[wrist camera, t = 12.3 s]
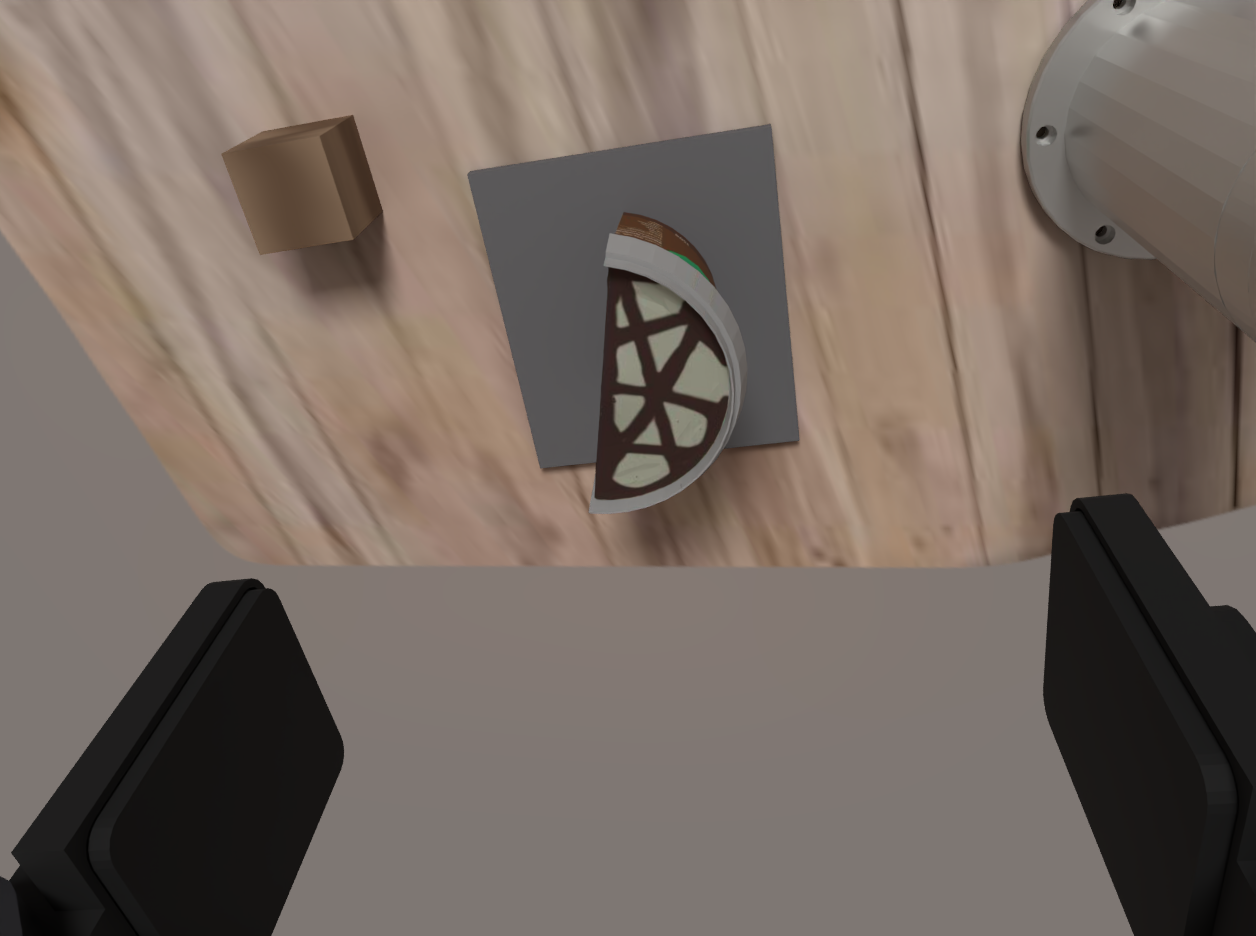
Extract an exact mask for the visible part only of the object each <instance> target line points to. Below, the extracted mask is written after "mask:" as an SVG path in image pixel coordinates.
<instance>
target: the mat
mask: <svg viewBox="0 0 1256 936" xmlns="http://www.w3.org/2000/svg"><path fill="white" fill-rule="evenodd" d="M467 175H468V179H469V183H470V187H471V191H472V195H473V199H474V203H475V207H476V211H477V215H478V219H479V223H480V227H481V231H482V235H483V239H484V243H485V247H486V251H487V255H488V259H489V263H490V267H491V271H492V276H493V280H494V284H495V288H496V292H497V296H498V300H499V304H500V308H501V312H502V316H503V320H504V324H505V328H506V332H507V336H508V340H509V344H510V348H511V352H512V356H513V360H514V364H515V368H516V372H517V376H518V380H519V384H520V388H521V392H522V396H523V400H524V404H525V408H526V412H527V416H528V420H529V424H530V428H531V432H532V436H533V440H534V444H535V448H536V452H537V456H538V461H539V465H540V468H548V467H557V466H566V465H576V464H585V463H594V462H596V459H597V443H598V430H599V416H600V397H601V382H602V368H603V350H604V337H605V321H606V307H607V303H606V302H607V289H608V288H607V277H608V267H606V266H604V261H605V257H606V248H607V243H608V239H609V234H610V233H611V234H615V232H616V229H617V227H618V224H619V222H620V219H621V217H622V214H623V212H627V213H633V214H639V215H643V216H646V217H649V218H652V219H655V220H658V221H660V222H662V223H664V224H666V225H668V226H670V227H672V228H673V229H674V230H676V231H677V232H679V233H680V234H681V235H683V236H684V237H685V238H686V239H687V240H688V241H689V242H690V243H691V244H692V245H694V246H695V247H696V249H697V250H698V251H699V253H700V254H701V255H702V257H703V258H704V260H705V261H706V263H707V265H708V267H709V269H710V271H711V273H712V276H713V279H714V282H715V286H716V290H717V291H718V292H719V294H720V295H721V297H722V298H723V299H724V301H725V302H726V304H727V305H728V306H729V308H730V310H731V312H732V314H733V316H734V318H735V320H736V322H737V324H738V326H739V329H740V333H741V336H742V339H743V343H744V346H745V352H746V361H747V386H746V393H745V397H744V402H743V406H742V410H741V412H740V415H739V417H738V419H737V422H736V424H735V426H734V429H733V431H732V433H731V435H730V438H729V440H728V442H727V444H726V446H725V447H724V449H725V448H734V447H744V446H753V445H762V444H772V443H781V442H790V441H799V430H798V419H797V408H796V397H795V385H794V374H793V363H792V352H791V341H790V330H789V318H788V307H787V296H786V285H785V274H784V263H783V252H782V240H781V229H780V218H779V207H778V196H777V185H776V173H775V162H774V151H773V140H772V129H771V124H769V125H762V126H756V127H750V128H743V129H737V130H731V131H724V132H718V133H711V134H705V135H699V136H692V137H686V138H679V139H673V140H667V141H660V142H654V143H648V144H641V145H635V146H628V147H622V148H616V149H609V150H603V151H596V152H590V153H584V154H577V155H571V156H565V157H558V158H552V159H545V160H539V161H533V162H526V163H520V164H513V165H507V166H501V167H494V168H488V169H481V170H475V171H470V172H469V173H468V174H467Z"/></svg>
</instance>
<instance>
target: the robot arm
mask: <svg viewBox="0 0 1256 936" xmlns="http://www.w3.org/2000/svg"><path fill="white" fill-rule="evenodd" d="M1113 2H1114V0H1088V1H1086V3H1085V4H1084V5H1083V6H1082V7H1081V8H1080V9H1079V10H1078V11H1077V12H1076V13H1075V14H1074V16H1073V17H1072V18H1071V19H1070V20H1069V21H1068V22H1067V23H1066V24H1065V25H1064V26H1063V28H1062V29H1061V31H1060V32H1059V34H1058V35H1057V37H1056V38H1055V40H1054V41H1053V43H1052V44H1051V46H1050V47H1049V49H1048V50H1047V52H1046V53H1045V55H1044V57H1043V59H1042V61H1041V63H1040V66H1039V68H1038V70H1037V72H1036V74H1035V76H1034V79H1033V81H1032V83H1031V86H1030V90H1029V94H1028V97H1027V101H1026V105H1025V108H1024V112H1023V122H1022V134H1021V147H1022V155H1023V164H1024V169H1025V172H1026V175H1027V178H1028V181H1029V184H1030V187H1031V190H1032V192H1033V194H1034V196H1035V197H1036V199H1037V201H1038V202H1039V204H1040V205H1041V207H1042V209H1043V210H1044V212H1045V213H1046V214H1047V215H1048V216H1049V217H1050V218H1051V219H1052V220H1053V222H1054V223H1055V224H1056V225H1057V226H1058V227H1059V228H1061V229H1062V230H1063V231H1064V232H1066V233H1067V234H1068V235H1069V236H1071V237H1072V238H1073V239H1074V240H1076V241H1077V242H1079V243H1081V244H1083V245H1085V246H1087V247H1089V248H1090V249H1092V250H1095V251H1097V252H1100V253H1104V254H1108V255H1112V256H1117V257H1121V258H1125V259H1147V260H1153V259H1158V260H1159V261H1160V262H1161V263H1162V264H1164V265H1165V266H1166V267H1167V268H1168V269H1169V270H1171V271H1172V272H1173V273H1174V274H1175V275H1177V276H1178V277H1179V278H1180V279H1181V280H1182V281H1184V282H1185V283H1186V284H1187V285H1188V286H1190V287H1191V288H1192V289H1193V290H1194V291H1195V292H1197V293H1198V294H1199V295H1200V296H1201V297H1203V298H1204V299H1205V300H1206V301H1207V302H1208V303H1210V304H1211V305H1212V306H1213V307H1214V308H1216V309H1217V310H1218V311H1219V312H1220V313H1222V314H1223V315H1224V316H1225V317H1226V318H1227V319H1229V320H1230V321H1231V322H1232V323H1233V324H1235V325H1236V326H1237V327H1238V328H1239V329H1240V330H1242V331H1243V332H1244V333H1245V334H1246V335H1248V336H1249V337H1250V338H1251V339H1252V340H1253V341H1254V342H1256V0H1122V3H1121V4H1120V5H1119V6H1118V7H1116V8H1114V7H1113ZM1041 127H1045V128H1046V132H1045V134H1044V135H1043V136H1041V137H1036V133H1037V131H1038V130H1039V129H1040V128H1041ZM1102 226H1104V228H1103V230H1102V231H1101V232H1100V233H1098V234H1095V233H1096V231H1097V230H1098V229H1099V228H1100V227H1102ZM1049 588H1050V589H1049V603H1048V604H1049V605H1048V620H1047V637H1046V652H1045V668H1044V669H1045V670H1044V685H1043V696H1044V705H1045V710H1046V715H1047V718H1048V721H1049V724H1050V727H1051V729H1052V732H1053V734H1054V737H1055V739H1056V742H1057V744H1058V747H1059V749H1060V752H1061V754H1062V757H1063V759H1064V762H1065V764H1066V767H1067V769H1068V772H1069V774H1070V777H1071V779H1072V782H1073V784H1074V787H1075V789H1076V792H1077V794H1078V797H1079V799H1080V802H1081V804H1082V806H1083V809H1084V812H1085V814H1086V817H1087V819H1088V822H1089V824H1090V827H1091V829H1092V832H1093V834H1094V837H1095V839H1096V842H1097V844H1098V847H1099V849H1100V852H1101V854H1102V857H1103V859H1104V862H1105V864H1106V867H1107V869H1108V872H1109V874H1110V877H1111V879H1112V882H1113V884H1114V887H1115V889H1116V892H1117V894H1118V897H1119V899H1120V902H1121V904H1122V906H1123V909H1124V912H1125V914H1126V917H1127V919H1128V922H1129V924H1130V927H1131V929H1132V932H1133V934H1134V936H1256V632H1255V631H1254V630H1253V628H1252V627H1251V625H1250V624H1249V623H1248V621H1247V620H1246V619H1245V618H1244V617H1243V616H1242V615H1241V613H1240V612H1239V611H1238V610H1237V609H1235V608H1233V607H1230V606H1228V605H1224V606H1211V607H1210V606H1209V604H1208V603H1207V602H1206V600H1205V599H1204V597H1203V596H1202V594H1201V593H1200V591H1199V590H1198V588H1197V587H1196V585H1195V584H1194V583H1193V581H1192V580H1191V578H1190V577H1189V576H1188V574H1187V572H1186V571H1185V570H1184V568H1183V567H1182V565H1181V564H1180V562H1179V561H1178V559H1177V558H1176V557H1175V555H1174V554H1173V552H1172V551H1171V549H1170V548H1169V547H1168V545H1167V543H1166V542H1165V540H1164V539H1163V538H1162V536H1161V535H1160V533H1159V532H1158V530H1157V529H1156V527H1155V526H1154V524H1153V523H1152V522H1151V520H1150V519H1149V517H1148V516H1147V514H1146V513H1145V511H1144V510H1143V508H1142V507H1141V506H1140V504H1139V503H1138V501H1137V500H1136V499H1135V498H1134V497H1133V495H1131V494H1127V493H1126V494H1116V495H1106V496H1096V497H1085V498H1076V499H1075V500H1073V502H1072V505H1071V508H1070V512H1065V513H1058V514H1056V516H1055V518H1054V524H1053V538H1052V555H1051V573H1050V587H1049ZM343 759H344V746H343V741H342V738H341V735H340V733H339V731H338V729H337V726H336V724H335V722H334V720H333V717H332V715H331V713H330V711H329V709H328V706H327V704H326V702H325V700H324V697H323V695H322V693H321V691H320V688H319V686H318V684H317V681H316V679H315V677H314V675H313V673H312V670H311V668H310V666H309V664H308V661H307V659H306V657H305V655H304V652H303V650H302V648H301V646H300V643H299V641H298V639H297V637H296V634H295V632H294V630H293V628H292V625H291V623H290V621H289V619H288V617H287V614H286V612H285V610H284V608H283V605H282V603H281V601H280V599H279V597H278V595H277V593H276V592H275V591H273V590H272V589H269V588H267V589H266V588H265V587H264V585H263V584H262V583H261V582H260V581H259V580H256V579H252V578H251V579H241V580H231V581H221V582H213V583H209V584H207V585H206V586H205V587H204V588H203V589H202V590H201V592H200V593H199V594H198V596H197V597H196V598H195V600H194V601H193V602H192V604H191V605H190V607H189V608H188V609H187V611H186V612H185V614H184V615H183V616H182V618H181V619H180V621H179V622H178V623H177V625H176V626H175V627H174V629H173V630H172V632H171V633H170V634H169V636H168V637H167V639H166V640H165V641H164V643H163V644H162V645H161V647H160V648H159V650H158V651H157V652H156V654H155V655H154V656H153V658H152V659H151V661H150V662H149V663H148V665H147V666H146V667H145V669H144V670H143V671H142V673H141V674H140V676H139V677H138V678H137V680H136V681H135V683H134V684H133V685H132V687H131V688H130V690H129V691H128V692H127V694H126V695H125V696H124V698H123V699H122V700H121V702H120V703H119V705H118V706H117V707H116V709H115V710H114V712H113V713H112V714H111V716H110V717H109V718H108V720H107V721H106V723H105V724H104V725H103V727H102V728H101V730H100V731H99V732H98V734H97V735H96V736H95V738H94V739H93V741H92V742H91V743H90V745H89V746H88V747H87V749H86V750H85V752H84V753H83V754H82V756H81V757H80V759H79V760H78V761H77V763H76V764H75V766H74V767H73V768H72V770H71V771H70V772H69V774H68V775H67V776H66V778H65V779H64V781H63V782H62V783H61V785H60V786H59V787H58V789H57V790H56V792H55V793H54V794H53V796H52V797H51V798H50V800H49V801H48V803H47V804H46V805H45V807H44V808H43V810H42V811H41V812H40V814H39V815H38V816H37V818H36V819H35V821H34V822H33V823H32V825H31V826H30V827H29V829H28V830H27V832H26V833H25V835H24V836H23V837H22V838H21V840H20V841H19V843H18V844H17V845H16V847H15V848H14V850H13V851H12V852H11V853H12V855H13V856H14V857H15V859H16V860H17V861H18V863H19V864H20V866H19V868H18V869H17V870H16V872H15V873H14V875H13V876H12V877H11V879H10V880H9V881H8V880H6V879H5V878H3V877H1V876H0V936H271V935H272V933H273V930H274V928H275V925H276V923H277V921H278V918H279V916H280V914H281V911H282V909H283V906H284V904H285V902H286V899H287V897H288V895H289V892H290V890H291V887H292V885H293V883H294V880H295V878H296V875H297V873H298V871H299V868H300V866H301V864H302V861H303V859H304V856H305V854H306V851H307V849H308V847H309V845H310V842H311V840H312V837H313V835H314V833H315V830H316V828H317V825H318V823H319V821H320V818H321V816H322V814H323V811H324V809H325V806H326V804H327V802H328V799H329V797H330V795H331V792H332V790H333V787H334V785H335V783H336V780H337V778H338V775H339V773H340V771H341V767H342V764H343Z"/></svg>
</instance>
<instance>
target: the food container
mask: <svg viewBox="0 0 1256 936" xmlns="http://www.w3.org/2000/svg"><path fill="white" fill-rule="evenodd" d="M604 266H606V267H608V277H607V288H608V289H607V302H606V303H607V307H606V321H605V337H604V350H603V368H602V382H601V397H600V416H599V430H598V443H597V459H596V474H595V480H594V485H593V491H592V497H591V502H590V508H589V513H595V514H612V513H622V512H630V511H634V510H638V509H642V508H646V507H649V506H652V505H654V504H657V503H659V502H662V501H665V500H667V499H668V498H670V497H672V496H674V495H675V494H677V493H679V492H681V491H682V490H684V489H685V488H686V487H687V486H689V485H690V484H691V483H692V482H694V481H695V480H696V479H697V478H699V477H700V476H701V475H702V474H703V473H704V472H705V471H706V470H707V469H708V468H709V467H710V466H711V465H712V464H713V463H714V462H715V460H716V459H717V458H718V456H719V455H720V453H721V452H722V450H723V449H724V447H725V446H726V444H727V442H728V440H729V438H730V435H731V433H732V431H733V429H734V426H735V424H736V422H737V419H738V417H739V415H740V412H741V410H742V406H743V402H744V397H745V393H746V386H747V361H746V352H745V346H744V343H743V339H742V336H741V333H740V329H739V326H738V324H737V322H736V320H735V318H734V316H733V314H732V312H731V310H730V308H729V306H728V305H727V304H726V302H725V301H724V299H723V298H722V297H721V295H720V294H719V292H718V291H717V290H716V286H715V282H714V279H713V276H712V273H711V271H710V269H709V267H708V265H707V263H706V261H705V260H704V258H703V257H702V255H701V254H700V253H699V251H698V250H697V249H696V247H695V246H694V245H692V244H691V243H690V242H689V241H688V240H687V239H686V238H685V237H684V236H683V235H681V234H680V233H679V232H677V231H676V230H674V229H673V228H672V227H670V226H668V225H666V224H664V223H662V222H660V221H658V220H655V219H652V218H649V217H646V216H643V215H639V214H633V213H627V212H623V214H622V217H621V219H620V222H619V224H618V227H617V229H616V232H615V234H611V233H610V234H609V239H608V243H607V248H606V257H605V261H604Z"/></svg>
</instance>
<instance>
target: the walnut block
mask: <svg viewBox="0 0 1256 936" xmlns="http://www.w3.org/2000/svg"><path fill="white" fill-rule="evenodd" d="M222 157H223V160H224V162H225V165H226V167H227V170H228V173H229V175H230V178H231V180H232V183H233V186H234V188H235V191H236V193H237V196H238V199H239V201H240V204H241V207H242V209H243V212H244V214H245V217H246V220H247V222H248V225H249V227H250V230H251V233H252V235H253V238H254V240H255V243H256V246H257V248H258V251H259V254H260V255H262V254H269V253H275V252H281V251H287V250H293V249H299V248H306V247H312V246H318V245H324V244H330V243H337V242H343V241H349V240H354V239H355V238H356V237H357V236H358V235H359V234H360V233H361V232H362V231H363V230H364V229H365V228H366V227H367V226H368V225H369V224H370V223H371V222H372V221H373V220H374V219H375V218H376V217H377V216H378V215H379V214H380V213H381V212H382V211H383V210H382V207H381V204H380V200H379V197H378V194H377V191H376V187H375V184H374V181H373V178H372V175H371V171H370V168H369V165H368V162H367V158H366V155H365V152H364V149H363V146H362V142H361V139H360V136H359V133H358V129H357V126H356V123H355V120H354V117H353V115H350V116H345V117H339V118H334V119H328V120H323V121H317V122H312V123H307V124H301V125H296V126H290V127H285V128H279V129H274V130H268V131H263V132H261V133H259V134H257V135H255V136H254V137H252V138H250V139H248V140H246V141H244V142H242V143H241V144H239V145H237V146H235V147H233V148H231V149H229V150H228V151H226V152H224V153H222Z"/></svg>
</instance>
